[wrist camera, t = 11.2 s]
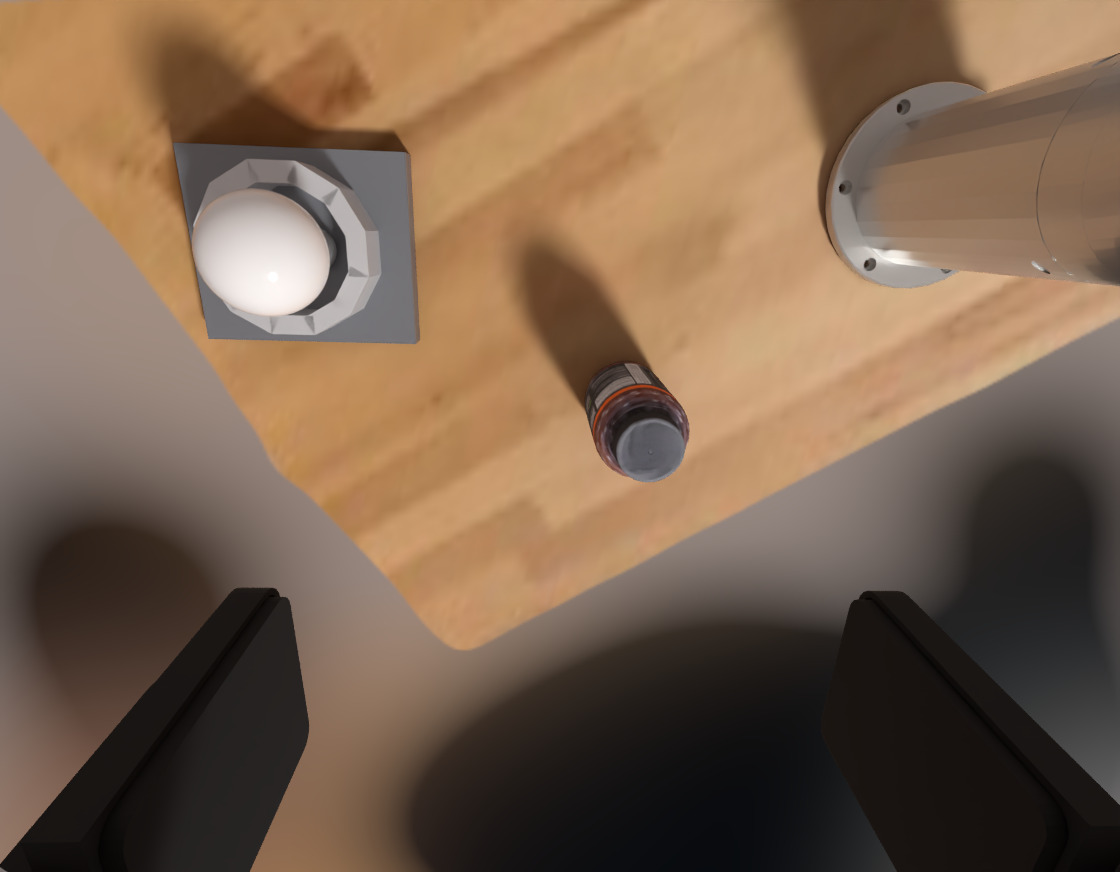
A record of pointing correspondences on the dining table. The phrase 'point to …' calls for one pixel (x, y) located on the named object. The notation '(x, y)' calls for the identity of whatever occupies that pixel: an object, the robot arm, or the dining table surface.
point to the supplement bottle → (636, 422)
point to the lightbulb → (262, 252)
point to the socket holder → (342, 211)
